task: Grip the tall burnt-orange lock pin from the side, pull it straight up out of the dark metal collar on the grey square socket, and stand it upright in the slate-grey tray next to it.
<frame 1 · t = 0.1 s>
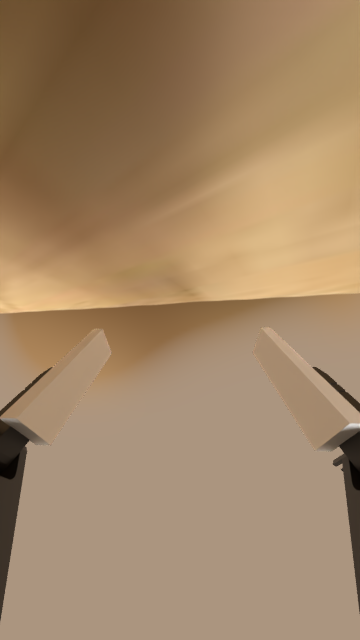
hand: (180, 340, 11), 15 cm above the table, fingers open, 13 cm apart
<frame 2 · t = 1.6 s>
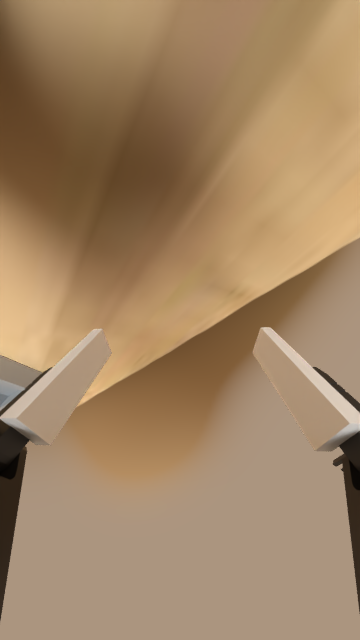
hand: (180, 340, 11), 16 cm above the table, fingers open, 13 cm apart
tray: (0, 375, 30), on the table
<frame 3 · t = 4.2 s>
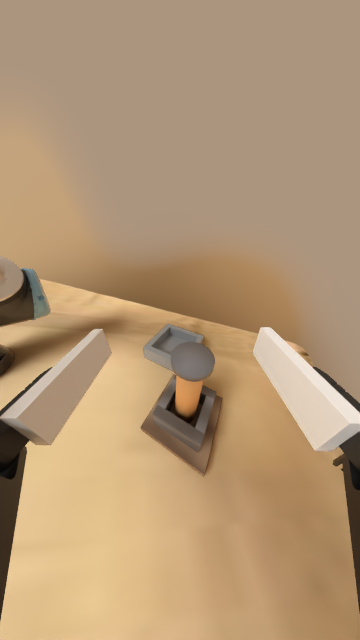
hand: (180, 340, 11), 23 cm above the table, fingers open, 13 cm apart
grey square socket: (184, 414, 27), on the table
lock pin: (185, 411, 26), point 2 cm above the table, touching grey square socket
tray: (175, 350, 41), on the table
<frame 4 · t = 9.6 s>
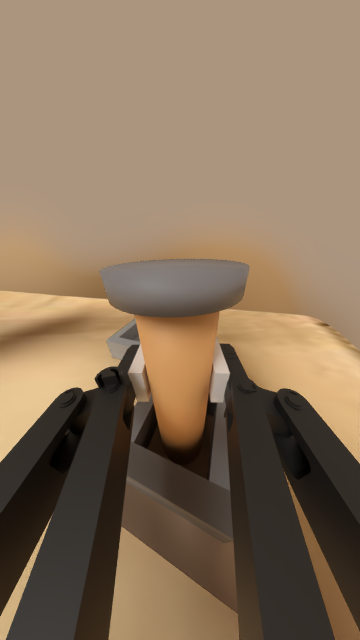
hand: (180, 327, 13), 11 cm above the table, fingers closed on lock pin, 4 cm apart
grey square socket: (182, 442, 14), on the table
lock pin: (182, 436, 13), point 2 cm above the table, touching gripper, grey square socket
tray: (158, 342, 28), on the table
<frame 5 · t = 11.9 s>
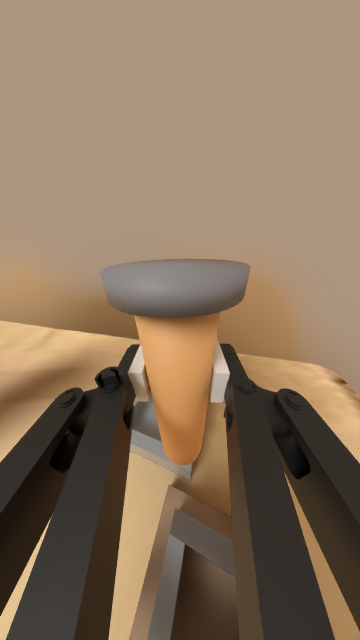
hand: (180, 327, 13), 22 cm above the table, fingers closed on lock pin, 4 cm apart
grey square socket: (207, 626, 11), on the table
lock pin: (182, 436, 13), point 12 cm above the table, touching gripper
tray: (166, 415, 26), on the table
when the fingers open (12 cm above the table, at t = 14.5 s): lock pin drops 1 cm, resting on tray.
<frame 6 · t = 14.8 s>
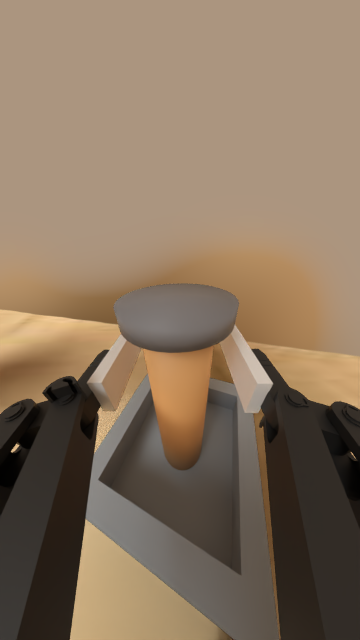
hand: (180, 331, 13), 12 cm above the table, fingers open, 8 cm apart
lock pin: (182, 442, 14), point 1 cm above the table, touching tray
tray: (182, 446, 15), on the table
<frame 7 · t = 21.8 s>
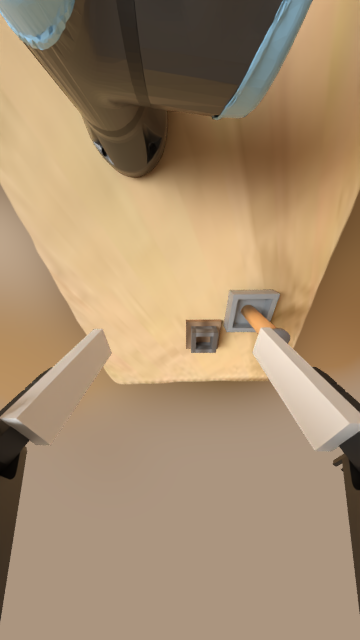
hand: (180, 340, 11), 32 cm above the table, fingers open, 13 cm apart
grey square socket: (202, 333, 50), on the table
lock pin: (247, 310, 43), point 1 cm above the table, touching tray
tray: (246, 309, 44), on the table
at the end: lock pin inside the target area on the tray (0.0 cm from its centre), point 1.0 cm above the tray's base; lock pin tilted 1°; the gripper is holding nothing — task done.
